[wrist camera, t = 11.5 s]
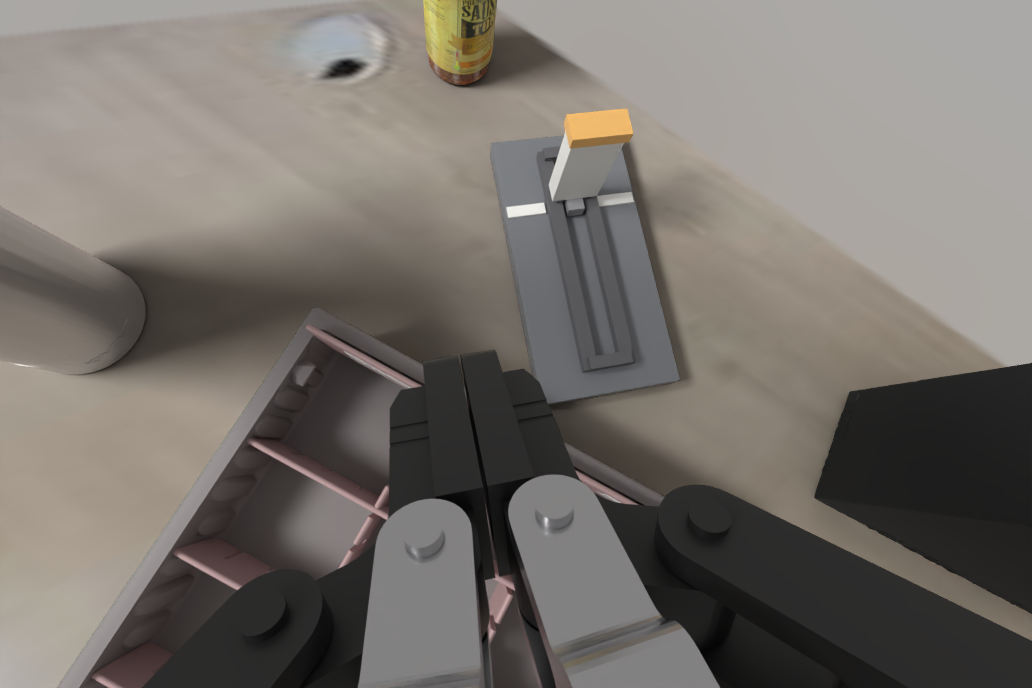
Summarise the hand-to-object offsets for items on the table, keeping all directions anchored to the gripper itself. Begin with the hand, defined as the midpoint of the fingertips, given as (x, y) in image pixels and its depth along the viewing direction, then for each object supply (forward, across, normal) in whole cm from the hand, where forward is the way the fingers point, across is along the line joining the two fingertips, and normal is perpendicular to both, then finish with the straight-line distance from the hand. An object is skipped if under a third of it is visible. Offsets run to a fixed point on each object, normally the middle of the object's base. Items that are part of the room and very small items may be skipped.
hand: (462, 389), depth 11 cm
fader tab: (+34, -13, +7) cm, 37 cm away
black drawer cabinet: (+13, -41, +32) cm, 54 cm away
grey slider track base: (+32, -13, +13) cm, 37 cm away
